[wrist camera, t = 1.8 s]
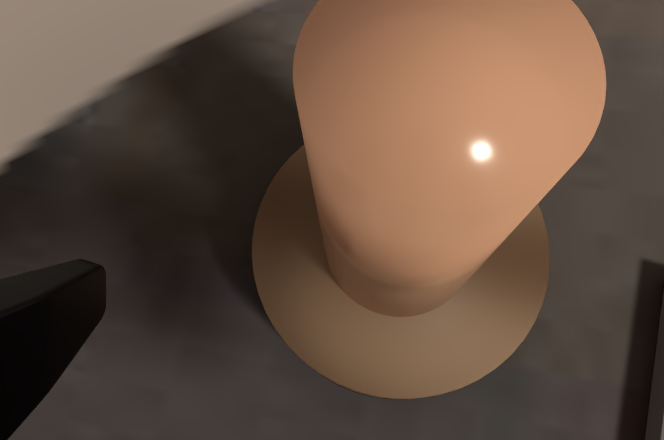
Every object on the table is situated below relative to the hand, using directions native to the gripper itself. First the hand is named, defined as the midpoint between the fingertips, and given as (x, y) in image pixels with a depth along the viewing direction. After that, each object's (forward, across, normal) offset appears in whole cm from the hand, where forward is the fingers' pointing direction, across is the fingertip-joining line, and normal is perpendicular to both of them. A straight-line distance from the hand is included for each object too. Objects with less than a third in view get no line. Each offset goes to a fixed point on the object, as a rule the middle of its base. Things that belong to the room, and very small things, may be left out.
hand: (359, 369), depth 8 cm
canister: (+10, 0, +3) cm, 10 cm away
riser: (+12, 0, +5) cm, 13 cm away
